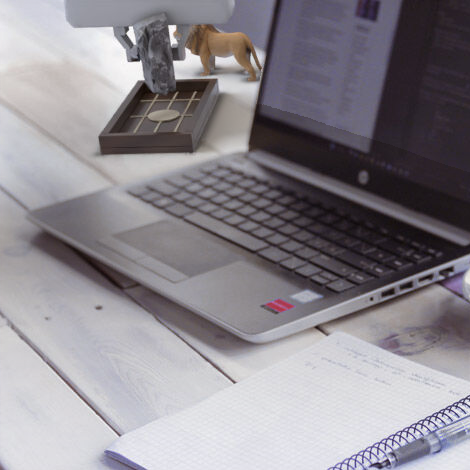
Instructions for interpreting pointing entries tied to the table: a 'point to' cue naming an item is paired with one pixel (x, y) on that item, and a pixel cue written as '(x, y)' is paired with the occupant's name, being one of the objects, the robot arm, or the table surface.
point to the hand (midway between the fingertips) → (157, 60)
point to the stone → (156, 53)
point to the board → (160, 119)
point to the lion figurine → (220, 48)
